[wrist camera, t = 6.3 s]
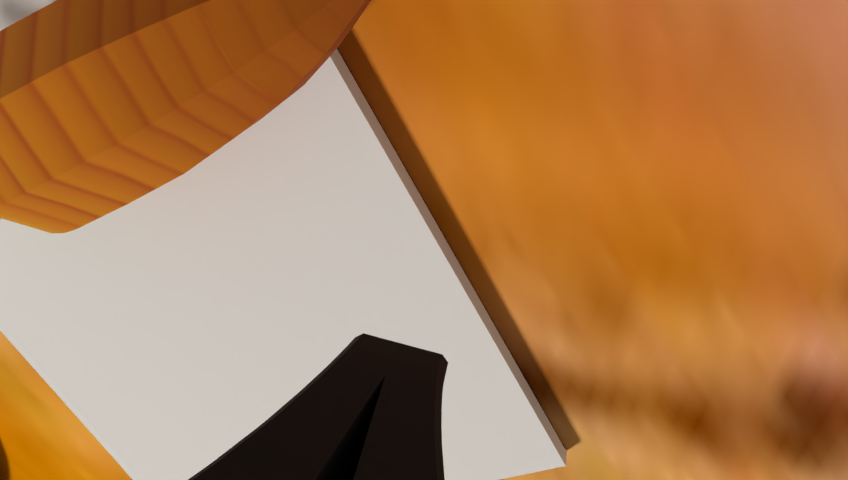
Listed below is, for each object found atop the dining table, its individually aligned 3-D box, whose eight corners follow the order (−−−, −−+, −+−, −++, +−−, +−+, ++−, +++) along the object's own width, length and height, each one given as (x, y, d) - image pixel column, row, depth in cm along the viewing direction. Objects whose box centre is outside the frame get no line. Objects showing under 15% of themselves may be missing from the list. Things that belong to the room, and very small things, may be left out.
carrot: (267, -235, 11) (-214, 110, 16) (364, 56, 11) (-154, 302, 16) (392, -115, 15) (-17, 122, 21) (460, 89, 15) (31, 272, 21)
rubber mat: (196, 530, 29) (188, 542, 28) (-159, 125, 22) (-177, 131, 22) (566, 451, 22) (565, 466, 21) (210, -174, 15) (196, -175, 15)
